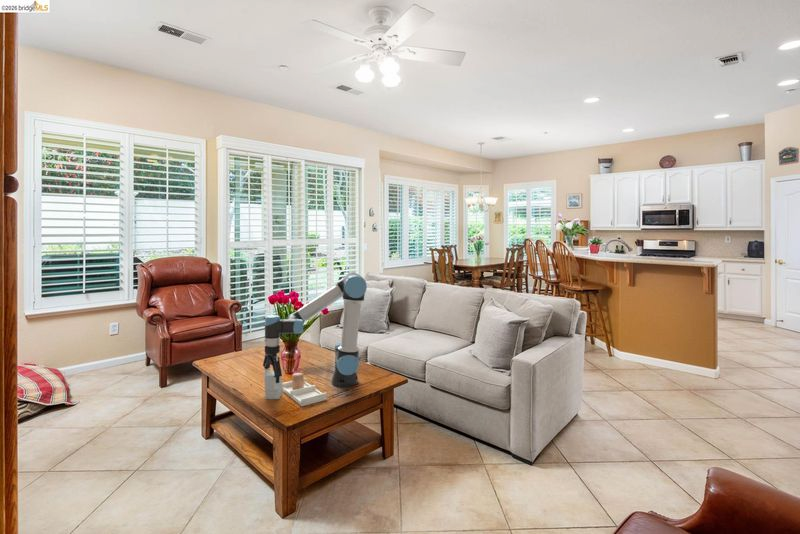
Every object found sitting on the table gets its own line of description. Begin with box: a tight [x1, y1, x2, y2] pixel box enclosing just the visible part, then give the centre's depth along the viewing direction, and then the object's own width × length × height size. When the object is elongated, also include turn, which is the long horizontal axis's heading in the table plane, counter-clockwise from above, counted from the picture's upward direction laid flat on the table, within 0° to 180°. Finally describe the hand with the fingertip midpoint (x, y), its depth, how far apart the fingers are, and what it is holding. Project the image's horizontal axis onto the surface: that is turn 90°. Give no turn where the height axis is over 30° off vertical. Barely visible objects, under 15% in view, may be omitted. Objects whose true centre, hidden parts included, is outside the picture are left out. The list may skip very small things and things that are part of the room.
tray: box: [282, 372, 328, 407], centre depth 213 cm, size 14×27×9 cm, turn 39°
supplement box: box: [264, 370, 284, 400], centre depth 209 cm, size 7×7×13 cm
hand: (271, 384), depth 209 cm, fingers open, 13 cm apart
